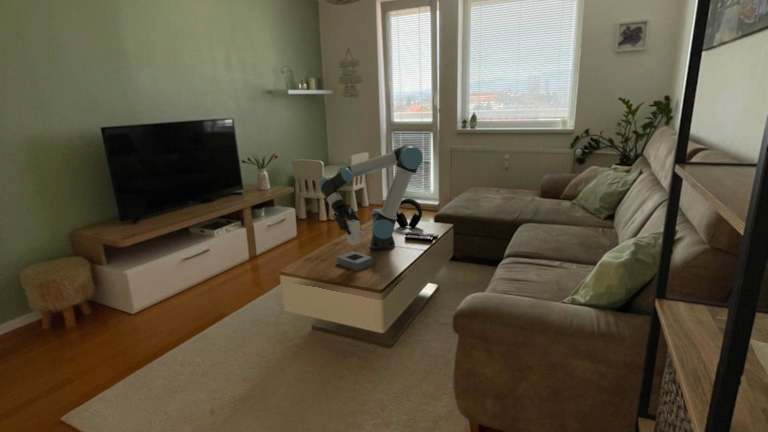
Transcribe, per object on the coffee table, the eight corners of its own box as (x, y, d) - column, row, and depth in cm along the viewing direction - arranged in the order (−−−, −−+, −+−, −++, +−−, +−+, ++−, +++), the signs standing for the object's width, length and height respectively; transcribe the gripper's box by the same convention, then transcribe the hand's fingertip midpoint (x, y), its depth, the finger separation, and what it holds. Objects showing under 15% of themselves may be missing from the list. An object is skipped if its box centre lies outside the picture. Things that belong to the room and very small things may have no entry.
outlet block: (336, 263, 232) (336, 256, 231) (353, 257, 240) (353, 251, 239) (356, 270, 221) (356, 263, 220) (373, 264, 229) (373, 257, 228)
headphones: (394, 228, 295) (393, 200, 290) (396, 225, 301) (396, 198, 296) (420, 229, 290) (420, 201, 285) (422, 227, 296) (422, 199, 291)
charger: (347, 243, 227) (346, 220, 224) (354, 240, 231) (353, 219, 227) (353, 245, 224) (352, 222, 221) (360, 242, 227) (359, 220, 224)
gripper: (346, 203, 239) (367, 237, 232) (320, 209, 227) (342, 245, 220) (352, 195, 234) (373, 230, 227) (326, 201, 222) (348, 237, 215)
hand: (358, 237), depth 224 cm, fingers closed on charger, 5 cm apart
